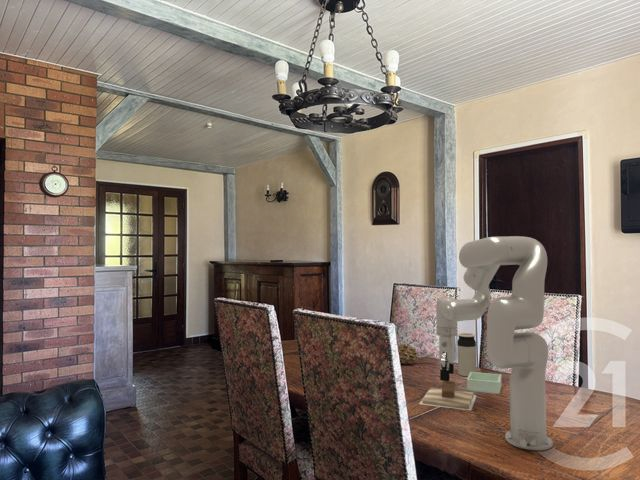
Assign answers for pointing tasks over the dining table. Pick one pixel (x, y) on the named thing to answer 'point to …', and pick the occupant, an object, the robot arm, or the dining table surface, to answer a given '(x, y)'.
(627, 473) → the dining table surface
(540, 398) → the robot arm
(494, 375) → the dish
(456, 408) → the mat
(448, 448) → the dining table surface
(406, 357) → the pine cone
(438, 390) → the lid
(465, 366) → the travel mug
